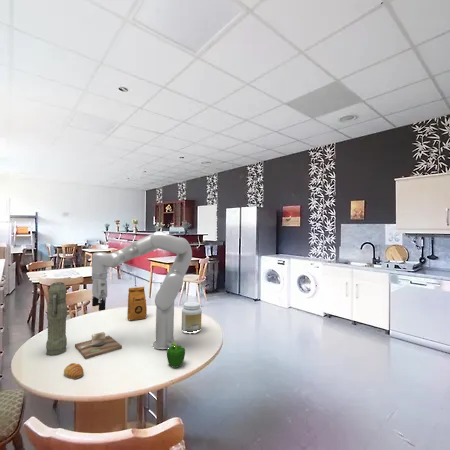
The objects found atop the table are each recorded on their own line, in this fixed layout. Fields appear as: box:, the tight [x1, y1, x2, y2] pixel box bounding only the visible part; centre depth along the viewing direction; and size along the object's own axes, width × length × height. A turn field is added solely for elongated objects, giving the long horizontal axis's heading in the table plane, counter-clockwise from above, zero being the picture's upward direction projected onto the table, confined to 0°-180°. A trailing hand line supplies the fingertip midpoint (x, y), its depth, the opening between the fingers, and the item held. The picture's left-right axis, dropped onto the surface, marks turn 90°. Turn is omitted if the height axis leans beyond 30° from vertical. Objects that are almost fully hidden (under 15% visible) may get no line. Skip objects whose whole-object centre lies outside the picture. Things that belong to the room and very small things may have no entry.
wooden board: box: [74, 335, 123, 360], centre depth 148 cm, size 18×18×2 cm
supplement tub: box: [181, 301, 202, 332], centre depth 174 cm, size 12×12×17 cm
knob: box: [81, 331, 106, 348], centre depth 146 cm, size 12×6×6 cm, turn 133°
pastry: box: [63, 362, 85, 380], centre depth 121 cm, size 9×7×4 cm
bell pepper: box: [166, 343, 186, 368], centre depth 132 cm, size 8×8×10 cm
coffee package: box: [126, 286, 148, 321], centre depth 194 cm, size 10×12×22 cm
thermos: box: [45, 282, 68, 357], centre depth 142 cm, size 9×12×35 cm
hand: (98, 308), depth 148 cm, fingers open, 9 cm apart
